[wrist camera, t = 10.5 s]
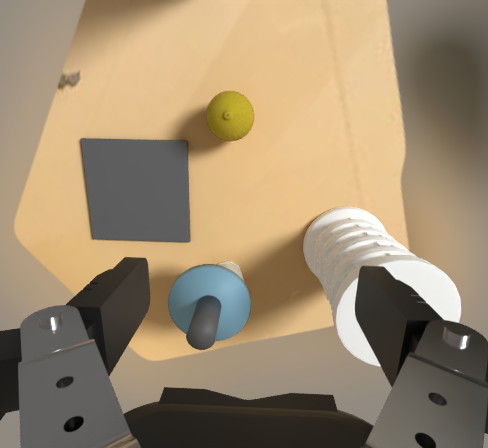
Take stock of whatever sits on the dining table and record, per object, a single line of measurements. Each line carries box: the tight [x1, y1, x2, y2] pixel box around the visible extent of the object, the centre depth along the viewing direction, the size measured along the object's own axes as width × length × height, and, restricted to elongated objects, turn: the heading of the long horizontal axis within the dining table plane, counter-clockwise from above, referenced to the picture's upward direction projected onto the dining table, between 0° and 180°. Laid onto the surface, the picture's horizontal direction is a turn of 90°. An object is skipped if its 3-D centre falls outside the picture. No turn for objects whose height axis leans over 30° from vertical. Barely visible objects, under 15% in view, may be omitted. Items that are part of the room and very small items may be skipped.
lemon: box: [207, 91, 254, 141], centre depth 37 cm, size 6×6×8 cm
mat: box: [81, 138, 190, 242], centre depth 44 cm, size 14×14×1 cm
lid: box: [168, 264, 251, 350], centre depth 36 cm, size 10×10×7 cm
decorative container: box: [303, 206, 461, 367], centre depth 37 cm, size 12×12×18 cm
